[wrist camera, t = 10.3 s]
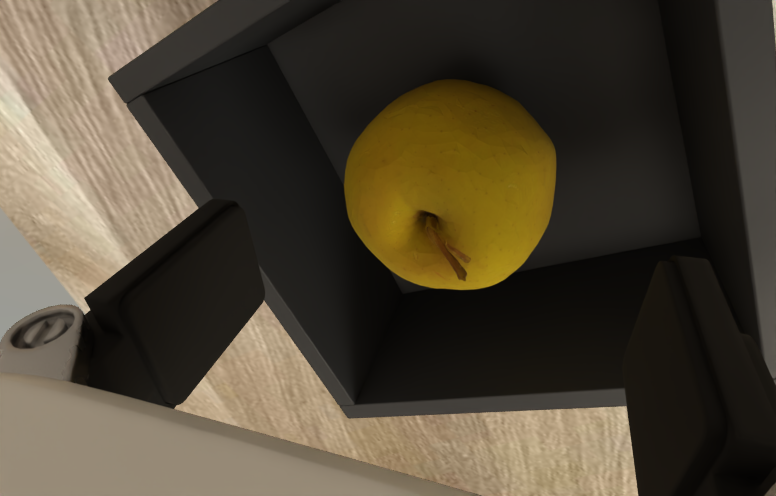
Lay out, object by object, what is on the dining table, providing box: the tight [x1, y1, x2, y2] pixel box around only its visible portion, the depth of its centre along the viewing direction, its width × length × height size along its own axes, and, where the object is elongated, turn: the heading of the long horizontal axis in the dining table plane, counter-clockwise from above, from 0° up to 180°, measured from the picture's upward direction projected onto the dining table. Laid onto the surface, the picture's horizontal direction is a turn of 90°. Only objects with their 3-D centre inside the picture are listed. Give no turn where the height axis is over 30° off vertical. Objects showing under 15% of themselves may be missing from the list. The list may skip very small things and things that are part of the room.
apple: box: [344, 79, 556, 290], centre depth 15 cm, size 6×6×8 cm
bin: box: [108, 0, 776, 418], centre depth 15 cm, size 15×15×8 cm
